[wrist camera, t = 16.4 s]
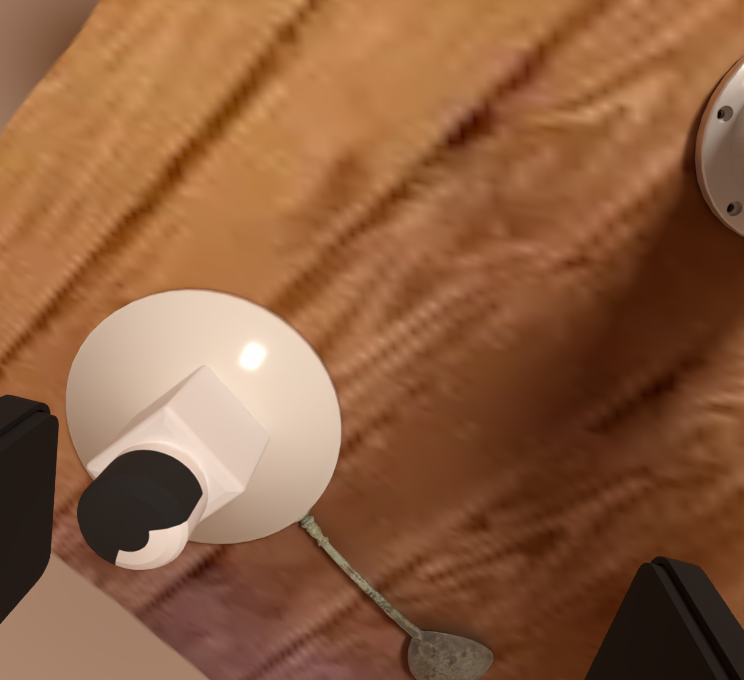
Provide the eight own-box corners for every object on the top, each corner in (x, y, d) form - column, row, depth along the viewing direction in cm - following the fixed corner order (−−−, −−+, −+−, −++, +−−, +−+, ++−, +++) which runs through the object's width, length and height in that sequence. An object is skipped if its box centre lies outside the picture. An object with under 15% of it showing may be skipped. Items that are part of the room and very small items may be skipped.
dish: (370, 328, 39) (369, 333, 38) (311, 559, 46) (309, 570, 45) (85, 256, 39) (75, 259, 38) (66, 499, 46) (57, 508, 44)
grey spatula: (445, 687, 51) (504, 649, 50) (449, 723, 48) (513, 684, 46) (271, 528, 46) (333, 480, 44) (264, 557, 42) (330, 507, 41)
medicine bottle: (134, 415, 41) (31, 517, 30) (206, 361, 40) (125, 447, 28) (201, 486, 43) (126, 608, 32) (273, 436, 41) (221, 546, 30)
